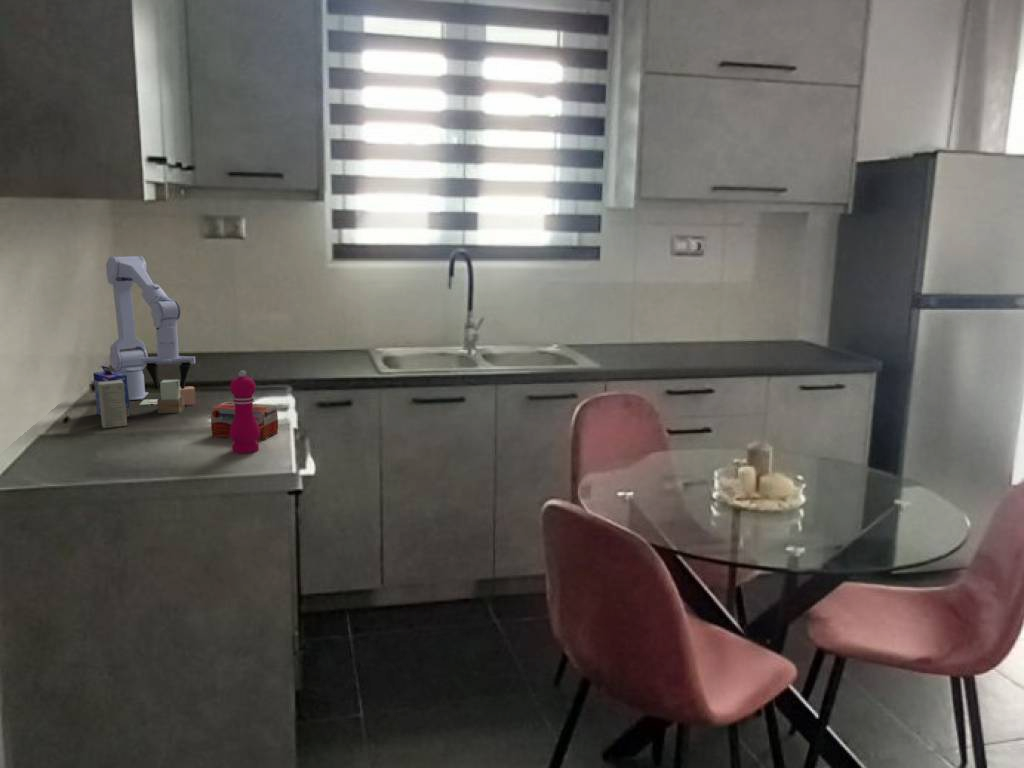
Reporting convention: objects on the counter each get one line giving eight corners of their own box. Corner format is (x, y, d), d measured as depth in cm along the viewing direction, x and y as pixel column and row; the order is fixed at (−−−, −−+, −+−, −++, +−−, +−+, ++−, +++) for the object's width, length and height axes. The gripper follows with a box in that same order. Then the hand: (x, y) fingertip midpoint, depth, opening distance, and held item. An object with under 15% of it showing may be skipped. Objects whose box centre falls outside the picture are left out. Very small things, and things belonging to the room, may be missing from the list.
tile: (144, 400, 267) (143, 398, 267) (168, 399, 269) (167, 398, 268) (139, 405, 260) (139, 403, 260) (164, 404, 262) (163, 403, 262)
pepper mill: (224, 450, 213) (220, 370, 209) (250, 444, 218) (246, 366, 215) (240, 455, 208) (237, 374, 205) (266, 450, 214) (263, 370, 210)
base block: (163, 409, 257) (162, 395, 256) (184, 408, 258) (183, 395, 257) (158, 413, 251) (157, 400, 250) (179, 413, 252) (178, 400, 251)
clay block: (178, 403, 265) (177, 387, 264) (193, 402, 267) (192, 386, 266) (180, 406, 261) (179, 389, 260) (195, 404, 263) (194, 388, 262)
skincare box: (125, 422, 239) (122, 379, 237) (127, 426, 235) (124, 382, 233) (100, 425, 236) (97, 381, 234) (102, 428, 232) (98, 384, 230)
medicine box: (278, 433, 231) (277, 404, 229) (264, 441, 223) (263, 410, 222) (226, 430, 234) (224, 401, 232) (210, 437, 226) (209, 407, 224)
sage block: (164, 396, 255) (163, 379, 254) (180, 396, 256) (179, 379, 255) (161, 399, 251) (160, 382, 250) (177, 399, 252) (176, 382, 251)
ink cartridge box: (95, 414, 248) (91, 364, 245) (114, 411, 252) (110, 362, 250) (112, 419, 242) (108, 368, 239) (131, 416, 246) (127, 366, 243)
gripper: (137, 344, 245) (140, 391, 248) (191, 344, 248) (194, 390, 251) (142, 341, 252) (145, 386, 255) (195, 340, 255) (197, 385, 258)
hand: (170, 388), depth 253 cm, fingers open, 6 cm apart
